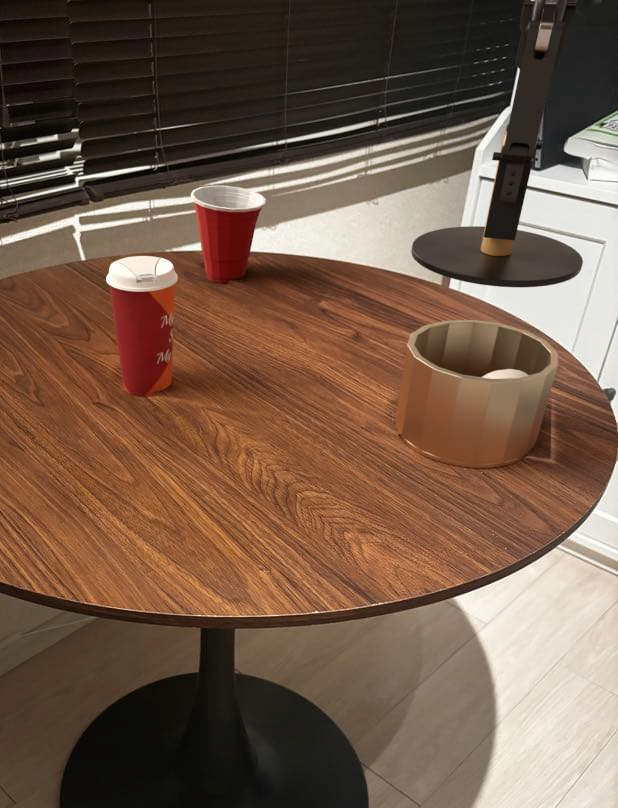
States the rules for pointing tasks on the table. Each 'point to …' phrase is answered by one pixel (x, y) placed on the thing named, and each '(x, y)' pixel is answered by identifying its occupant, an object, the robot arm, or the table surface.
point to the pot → (474, 392)
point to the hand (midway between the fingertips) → (500, 231)
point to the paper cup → (144, 321)
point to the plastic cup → (226, 228)
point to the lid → (496, 256)
